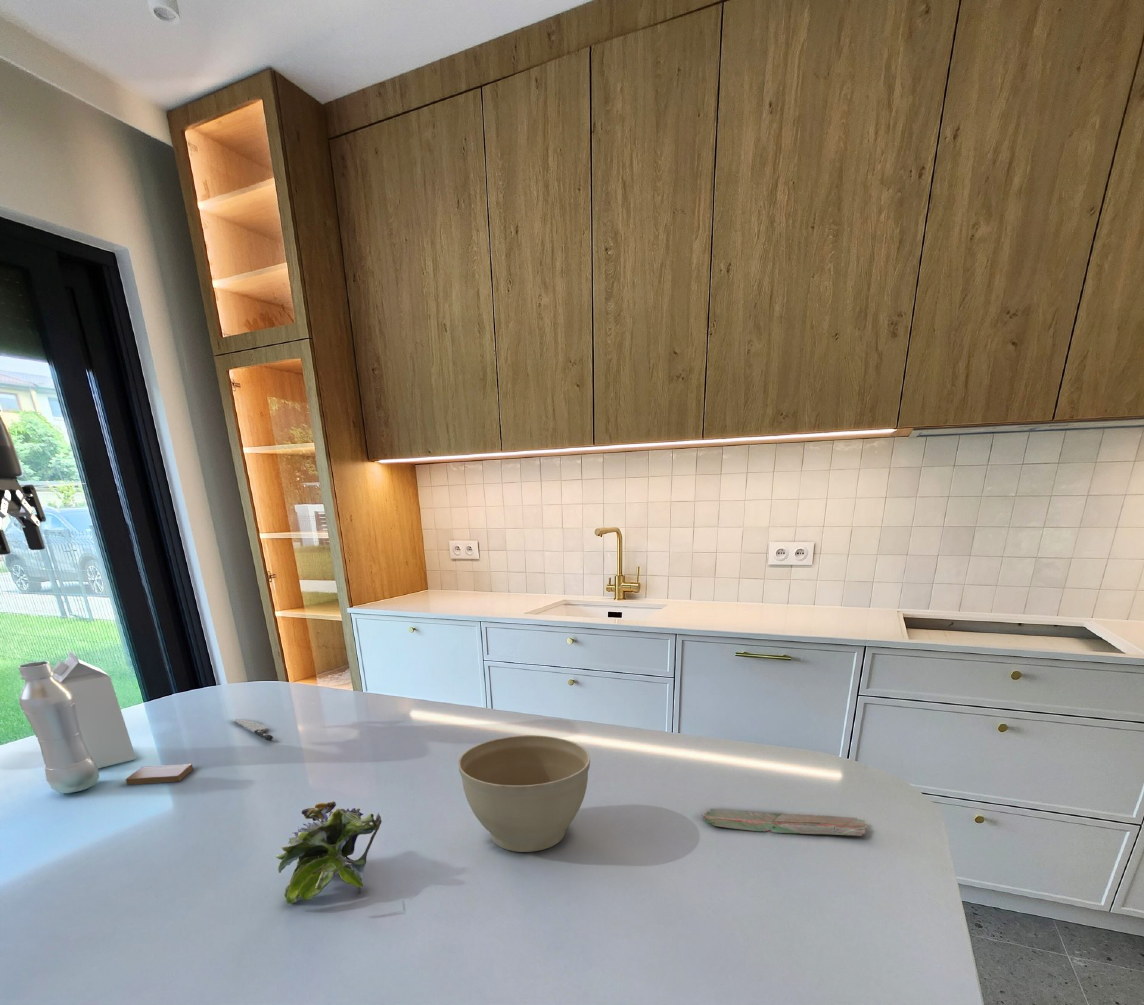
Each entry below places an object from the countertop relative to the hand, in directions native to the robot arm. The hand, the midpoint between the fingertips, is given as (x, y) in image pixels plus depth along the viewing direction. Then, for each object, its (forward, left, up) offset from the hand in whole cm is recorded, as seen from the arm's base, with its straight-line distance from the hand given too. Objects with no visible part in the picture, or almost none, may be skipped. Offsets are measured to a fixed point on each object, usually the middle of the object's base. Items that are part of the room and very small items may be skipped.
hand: (20, 552), depth 109 cm
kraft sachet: (+23, -20, -34) cm, 46 cm away
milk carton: (+10, -11, -34) cm, 37 cm away
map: (+115, -50, -34) cm, 130 cm away
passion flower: (+60, -56, -34) cm, 89 cm away
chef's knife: (+31, +1, -34) cm, 46 cm away
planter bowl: (+82, -48, -34) cm, 101 cm away
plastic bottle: (+12, -23, -34) cm, 43 cm away
